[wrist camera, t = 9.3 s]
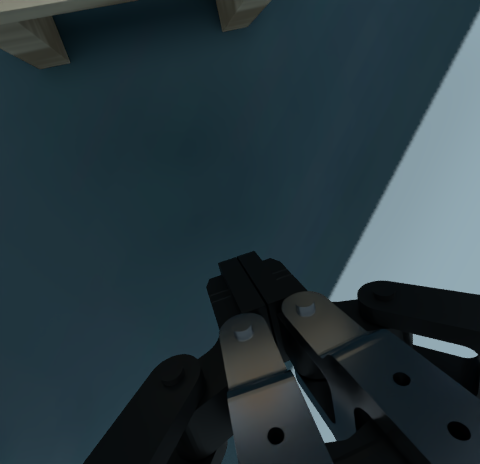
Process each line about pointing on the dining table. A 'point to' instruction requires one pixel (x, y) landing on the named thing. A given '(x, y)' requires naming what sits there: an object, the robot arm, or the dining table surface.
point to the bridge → (53, 3)
